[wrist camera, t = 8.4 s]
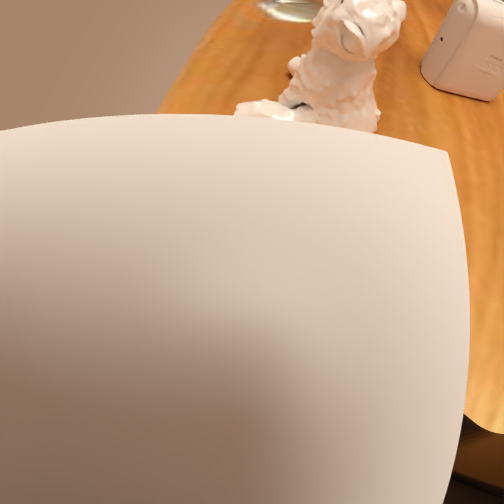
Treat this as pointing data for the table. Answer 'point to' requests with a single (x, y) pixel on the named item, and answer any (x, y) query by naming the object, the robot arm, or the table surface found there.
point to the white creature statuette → (337, 67)
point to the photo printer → (468, 50)
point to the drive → (228, 313)
